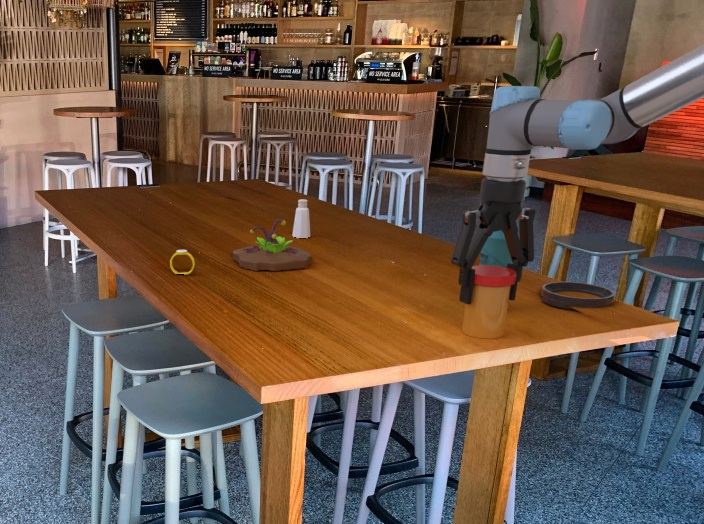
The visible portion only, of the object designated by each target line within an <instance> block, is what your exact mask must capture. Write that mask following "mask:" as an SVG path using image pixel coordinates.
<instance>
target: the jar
mask: <svg viewBox="0 0 704 524" xmlns="http://www.w3.org/2000/svg"><path fill="white" fill-rule="evenodd" d="M510 289H511V285H510V286H503V287H492V286H482V285H477V284H474V285H473V292H472V300H471V304H465V303H464V309H463V310H464V311H463V319H462V325H461V332H462V333H463V334H465V335H466V336H469V337H472V338H476V339H485V340H486V339H487V340H493V339H499V338H502V337H503V336H504V333H505V328H506V321H507V314H508V308H509V303H510V302H509V301H510V300H509V295H510Z"/></svg>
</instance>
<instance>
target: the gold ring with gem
mask: <svg viewBox="0 0 704 524" xmlns="http://www.w3.org/2000/svg"><path fill="white" fill-rule="evenodd" d="M177 255H178V256H183V255H185V256H187V257H189V259H190V260H191V262H192V266H191V269H190V270H189V271H184V272H178V270H176V269H175V268H174V266H173V260H174V258H175V257H176V256H177ZM195 266H196V261H195V257H194V256H193V255H192V254H191V253H190V252H188V250H187V249H177V250H176V251H175V253H174V254H172V256H171V258H170V260H169V267H170V270H171V271H172V272H173V273H174V274H175V275H176V274H184V275H183V276H187V275H190V274H191V273H192V272H193V271H194V268H195Z"/></svg>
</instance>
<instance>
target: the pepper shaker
mask: <svg viewBox="0 0 704 524" xmlns="http://www.w3.org/2000/svg"><path fill="white" fill-rule="evenodd" d="M297 203H298V204H297V207H296V209H295V215H294V220H293V221H294V222H293V227H292V235H291V236H293V237H292V238H294V237H296V238H295V239H299V238H306V239H309V238H308V237H310V238H311V225H310V208H308V200H307V199H305V198H303V199H302V198H301V199H298V200H297Z"/></svg>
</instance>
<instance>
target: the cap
mask: <svg viewBox="0 0 704 524" xmlns="http://www.w3.org/2000/svg"><path fill="white" fill-rule="evenodd" d="M472 269H474V270H475V278H474V284H477V285H482V286H492V287H503V286H510V285H513V284H514V283H515V281H516V271H514V270H512V269H509V268H505V267H499V266H489V265H479V264H478V265H473V266H472Z"/></svg>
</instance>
